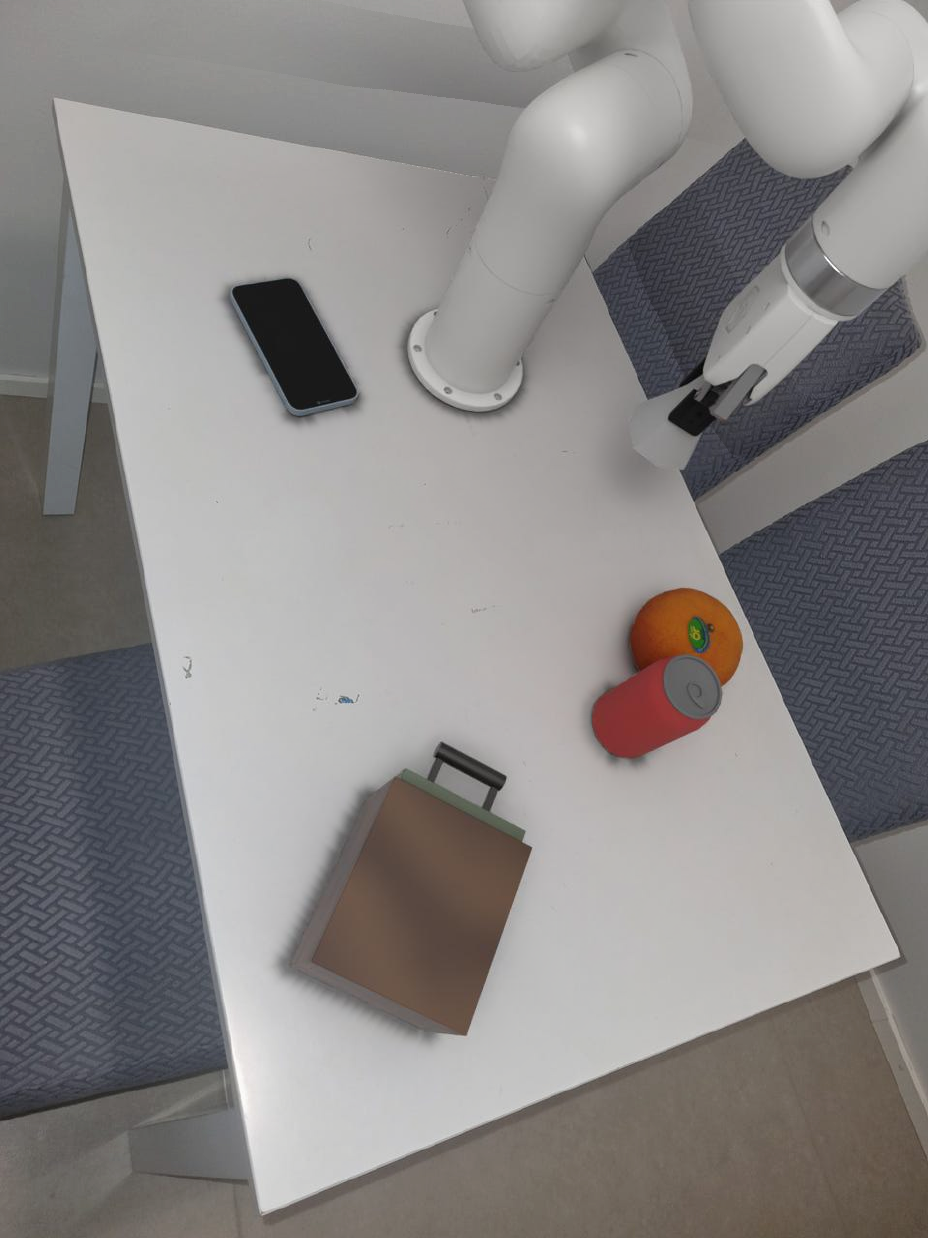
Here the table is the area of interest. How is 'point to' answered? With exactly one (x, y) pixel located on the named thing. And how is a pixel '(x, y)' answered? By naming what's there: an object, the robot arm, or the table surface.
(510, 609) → the table surface
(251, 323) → the smartphone
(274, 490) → the table surface
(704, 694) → the beer can
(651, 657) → the fruit
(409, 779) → the drawer
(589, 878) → the table surface
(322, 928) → the cabinet
